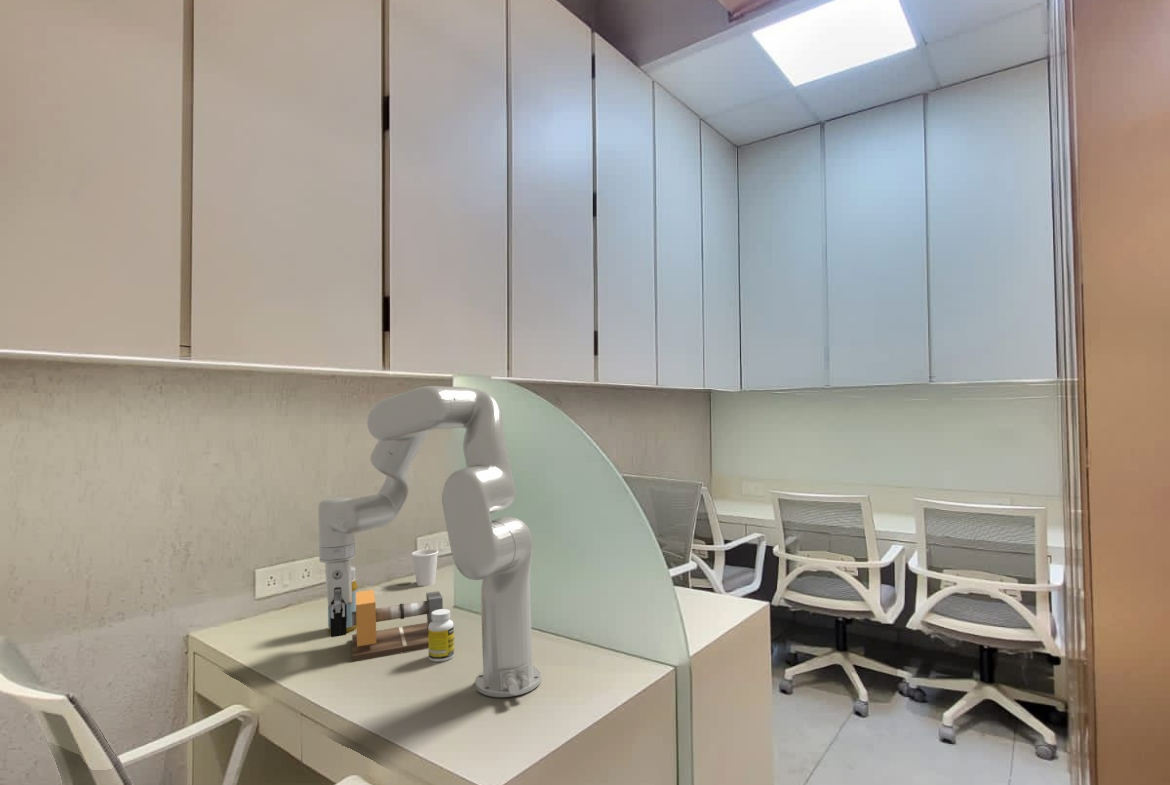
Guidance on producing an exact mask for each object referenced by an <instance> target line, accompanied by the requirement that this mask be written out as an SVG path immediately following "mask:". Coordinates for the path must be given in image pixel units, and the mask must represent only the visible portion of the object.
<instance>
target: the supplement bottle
mask: <svg viewBox="0 0 1170 785" xmlns="http://www.w3.org/2000/svg"><path fill="white" fill-rule="evenodd" d="M431 618H432V620H433V621H432V622H431V623H430V624H429V626H428V642H429V648H428V659H429V661H431V662H435V663H440V662H446V661H449V660H451V659H452V658H454V657H455V628H454V626H455V625H454V621H453V620H452V619H450V618H451V610H450V609H447V608H443V609H439V610H435V611H433V612H432V613H431Z"/></svg>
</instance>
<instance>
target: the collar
mask: <svg viewBox="0 0 1170 785" xmlns="http://www.w3.org/2000/svg"><path fill="white" fill-rule="evenodd" d="M356 620H357V628H356V634H357V647H358V646H363V645H369V644H375V643H376V631H377V622H376V598H375V590H374V589H369V590H362V591H361V590H360V591H358V592H356Z"/></svg>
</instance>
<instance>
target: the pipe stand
mask: <svg viewBox="0 0 1170 785" xmlns="http://www.w3.org/2000/svg"><path fill="white" fill-rule="evenodd" d="M425 595H426V600H424V601H423V600H422V601H416V602H411V603H399V604H396V605H391V606H390V605H389V606H382V607H377V608H376V623H379V622H386V621H392V620H393V621H394V620H398V619H400V620H404V619H405V618H411V617H416V616H423V615H426V621H427V622H422V623H421V622H420V623H416V624H410V625H404V626H398V627H392V628H391V627H390V628H385V629H381V630H379V629H378V630H376V643H375V644H369V645H363V646H358V647H357V633H355V634H351V637H352V638H351V642H352V643H351V644H352V645H351V646H352V648H351V650H352V652H351V653H352V654H351V655H352V662H357V661H363V660H369V659H374V657H375V658H379V656H381V657H385V656H391V654H392V655H396V654H395V653H397V654H402V653H401V652H403V653H408V652H414V651H418V649H419V650H423V649H424V648H425V649H429V642H428V626H429V624H430V623H431V622H432V621H433V620H432V618H431V613H432V612H433V611H435V610H439V609H444V605H443V604H444V603H443V601H444V600H443V596H442V594H441V593H440V591H439V590H437V591H431V592H426V594H425ZM355 625H357V620H356V612H352V626H355ZM413 650H414V651H413ZM407 651H408V652H407Z"/></svg>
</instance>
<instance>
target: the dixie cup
mask: <svg viewBox="0 0 1170 785" xmlns="http://www.w3.org/2000/svg"><path fill="white" fill-rule="evenodd" d="M438 554H439V550H438V549H433V548H430V549H429V548H428V549H426V548H425V549H419V550H415V551H413V552H412V553H411V556H412V562H413V568H414V576H415V581H416V586H418V587H427V586H433V585H435V584H436V577H437V568H438V566H437V565H438Z"/></svg>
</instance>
